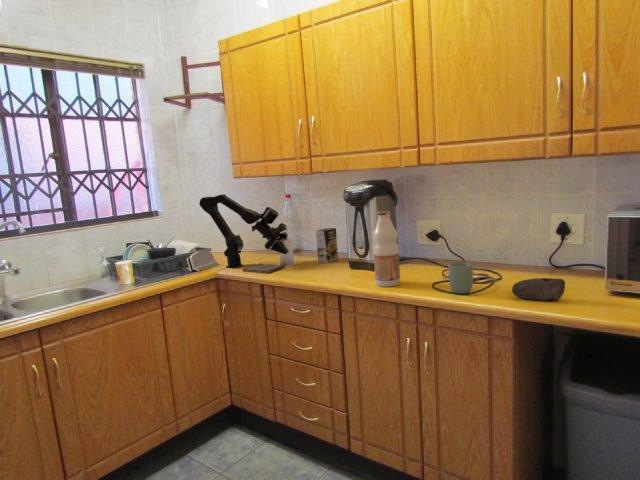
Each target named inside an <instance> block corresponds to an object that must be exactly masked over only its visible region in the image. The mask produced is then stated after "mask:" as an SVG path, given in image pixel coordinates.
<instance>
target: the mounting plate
mask: <svg viewBox="0 0 640 480" xmlns="http://www.w3.org/2000/svg"><path fill="white" fill-rule="evenodd" d="M283 269H285V267H284V265H281V264H271V263H270V264H269V263H257V264H254V265H251V266H247V267H245V268H243V269H242V272H244V273H257V274H267V275H268V274H271V273H275V272H276V271H279V270H283Z"/></svg>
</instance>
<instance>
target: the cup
mask: <svg viewBox="0 0 640 480" xmlns="http://www.w3.org/2000/svg"><path fill="white" fill-rule="evenodd" d="M448 280H449V281H448V282H449V286H450V289H451V291H452V292H453V293H455V294H457V293H458V295H465V294H469V293H470V292H471V291H472V289H473V285H474V284H473V283H474V265H473V263H472V262H469V261H453V262H449V264H448Z"/></svg>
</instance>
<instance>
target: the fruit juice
mask: <svg viewBox="0 0 640 480" xmlns="http://www.w3.org/2000/svg"><path fill="white" fill-rule="evenodd" d="M376 216H377V222H376V226H375V228H374V230H373V234H372V239H373V241H374V245H373V258H374V259H373V262H374V278H375V279H374V280H375V285H376V286H378V287H383V288H384V287H385V288H389V287H390V288H391V287H397V286H399V285H400V283H401V274H400V273H401V272H400V271H401V270H400V253H399V252H400V251H399V245H398V243H397V239H398V232H397V230H396V228H395V227H394V224H393V222H392V219H391V210H384V211H377V212H376Z"/></svg>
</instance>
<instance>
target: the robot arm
mask: <svg viewBox="0 0 640 480" xmlns="http://www.w3.org/2000/svg"><path fill="white" fill-rule="evenodd" d="M198 204H199V206H200V208H201V210H203V211H204V212H205V213H207V214H208V215H209V216H210V218H211V219H212V220H213V222H214V223H215V225H216V227H217V228H218V230H219V231H220V233H221V234H222V236H223V238H224V240H225V246H226V250H224V252H223V254H224V257H226V259H227V265H226V266H225V268H228V269H229V268H230V269H235V268H240V267H243V266H244V264H243V263H242V259H241V255H240V254H241V252H242V250H243V249H244V245H245V244H244V239H243V240H242V237H241V236H240V234H234V232H233V230H232V229H231V227H230V226H229V224H228V223H227V222H226V220H225V218H224V217H223V215H222V214H221V213H220V210H219V207H218V205H219V204H221V205H223V206H225V207H226V208H228V209H230V210H231V211H232V212H234V213H236V214H237V215H238V216H240V218H241V220H243V221H244V222H245V224H248V225H251V232H255V231H258V233H259V234H261V235H262V238H263V239H266V242H265V243H264V248H265V250H267V251H274V252H277V253H279V254H280V253H283V254H287V252H286V251H285V250H284V248H283V247H282V246H281V245H280V241H279V240H281V239H288V238H289V237H288V236H289V234H288V233H287V232H285V231H287V230H288V229H287V225H286V224H285V223H283V222H281V223H279V224H278V226H276V227H274V226H272V227H271V225H272V224H273V223H274V221H276V219H277V218H278V217H279V212H278V211H277V210H275V209H274V208H271V207H270V206H266V208H265V210H264V211H263V213H259V212H258V211H255V210H254V209H250V208H247V207H245V206H243V205H241V204H240V203H238V202H237V201H235V200H233V199H232V198H230V197H229V196H227V195H226V194H223V193H222V194H218V195H215V196H211V195H210V196H203V197H201V198H200V200H199V203H198ZM253 224H254V225H253Z"/></svg>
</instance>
